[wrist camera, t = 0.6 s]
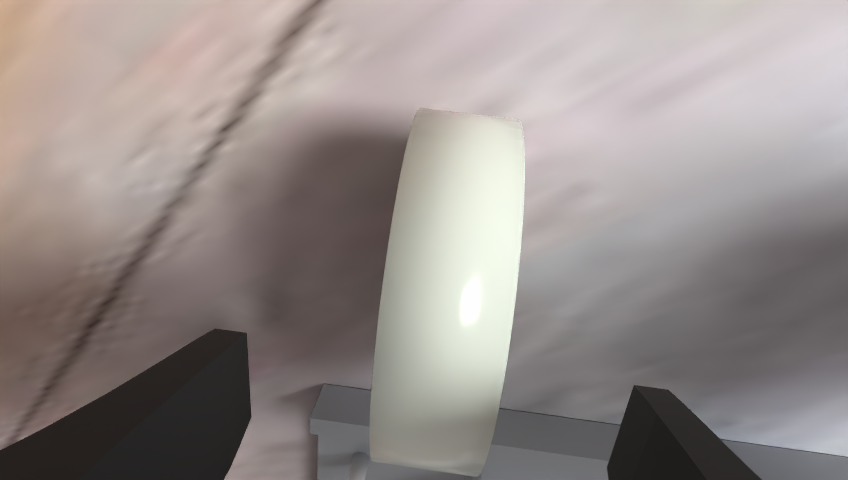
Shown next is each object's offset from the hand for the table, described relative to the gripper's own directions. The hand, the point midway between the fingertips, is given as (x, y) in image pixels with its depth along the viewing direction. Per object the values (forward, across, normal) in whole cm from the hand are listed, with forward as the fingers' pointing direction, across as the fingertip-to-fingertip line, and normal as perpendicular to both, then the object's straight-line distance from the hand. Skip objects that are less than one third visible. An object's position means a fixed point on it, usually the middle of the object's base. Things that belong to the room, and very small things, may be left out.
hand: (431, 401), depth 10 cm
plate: (+9, 0, 0) cm, 9 cm away
